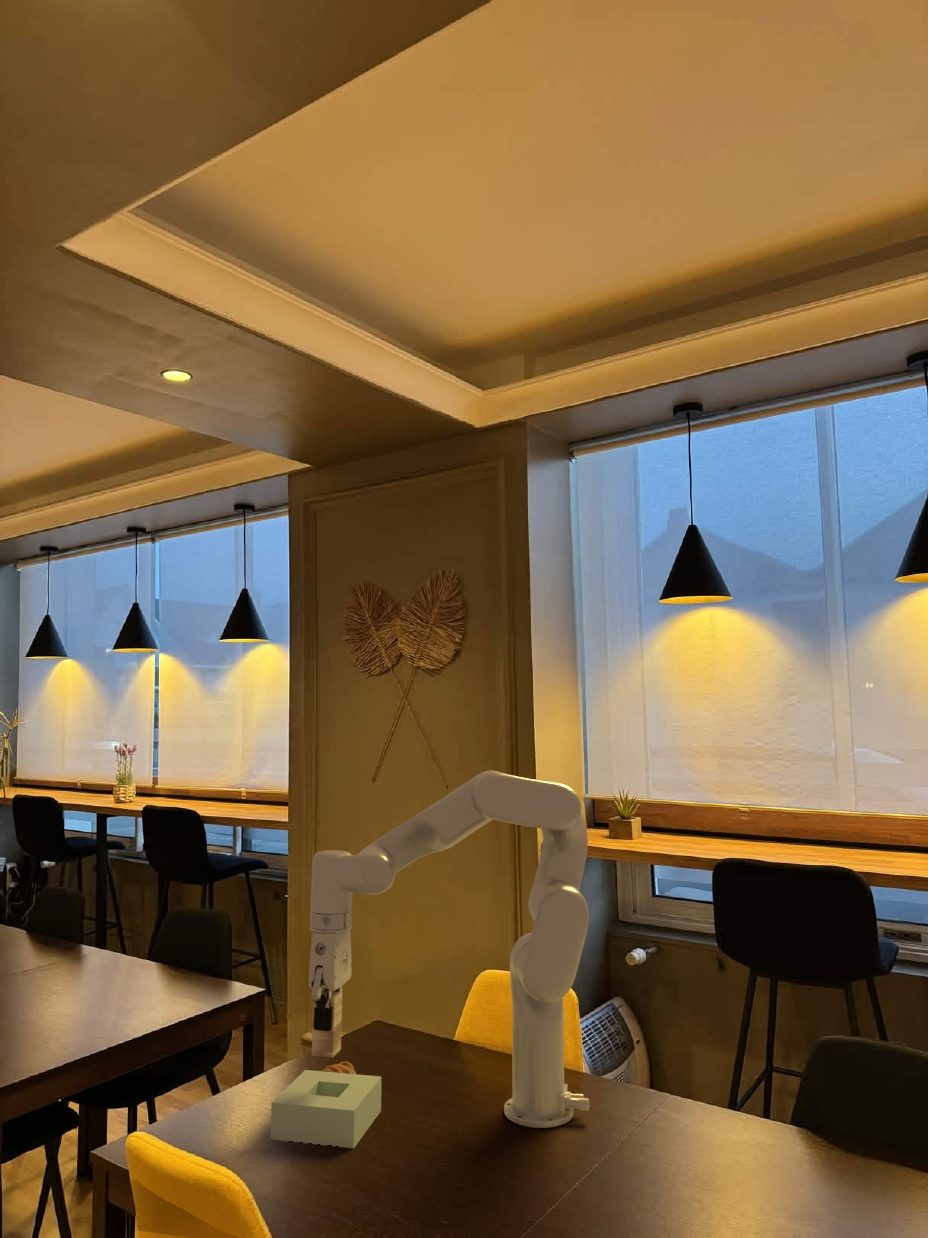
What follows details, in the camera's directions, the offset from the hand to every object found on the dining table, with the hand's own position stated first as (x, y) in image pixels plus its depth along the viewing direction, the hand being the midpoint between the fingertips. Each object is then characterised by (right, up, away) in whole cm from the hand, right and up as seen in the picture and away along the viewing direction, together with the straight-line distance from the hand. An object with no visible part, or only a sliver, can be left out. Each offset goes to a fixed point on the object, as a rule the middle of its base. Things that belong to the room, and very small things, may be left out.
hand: (327, 1024), depth 161 cm
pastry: (-1, -20, +16) cm, 25 cm away
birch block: (0, -5, -1) cm, 5 cm away
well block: (0, -17, -2) cm, 17 cm away
